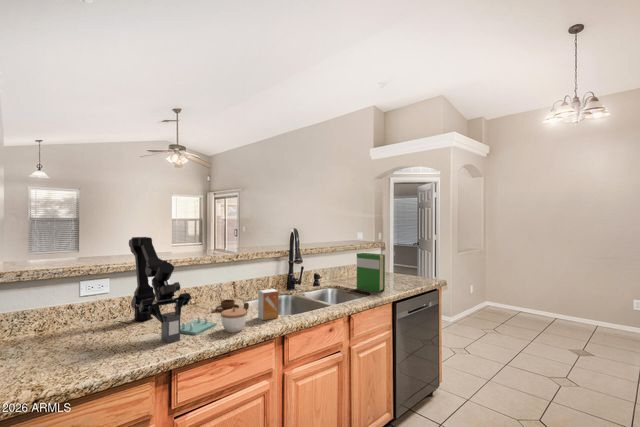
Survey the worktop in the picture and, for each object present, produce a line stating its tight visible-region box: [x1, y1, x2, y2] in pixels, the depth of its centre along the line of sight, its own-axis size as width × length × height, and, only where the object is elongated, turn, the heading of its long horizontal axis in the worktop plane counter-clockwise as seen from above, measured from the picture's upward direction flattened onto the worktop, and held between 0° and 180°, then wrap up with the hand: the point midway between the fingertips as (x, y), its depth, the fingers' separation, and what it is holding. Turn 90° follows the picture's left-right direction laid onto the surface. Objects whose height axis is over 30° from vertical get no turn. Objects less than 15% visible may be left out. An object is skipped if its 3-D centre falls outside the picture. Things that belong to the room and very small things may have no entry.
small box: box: [257, 288, 280, 321], centre depth 157 cm, size 8×6×13 cm
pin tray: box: [180, 315, 217, 336], centre depth 141 cm, size 12×13×4 cm
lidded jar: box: [220, 307, 248, 333], centre depth 139 cm, size 11×11×9 cm
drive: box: [160, 311, 181, 344], centre depth 127 cm, size 6×5×10 cm
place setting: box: [210, 298, 250, 316], centre depth 167 cm, size 18×20×6 cm
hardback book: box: [356, 252, 386, 293], centre depth 220 cm, size 18×7×24 cm, turn 50°
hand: (171, 320), depth 127 cm, fingers open, 6 cm apart
